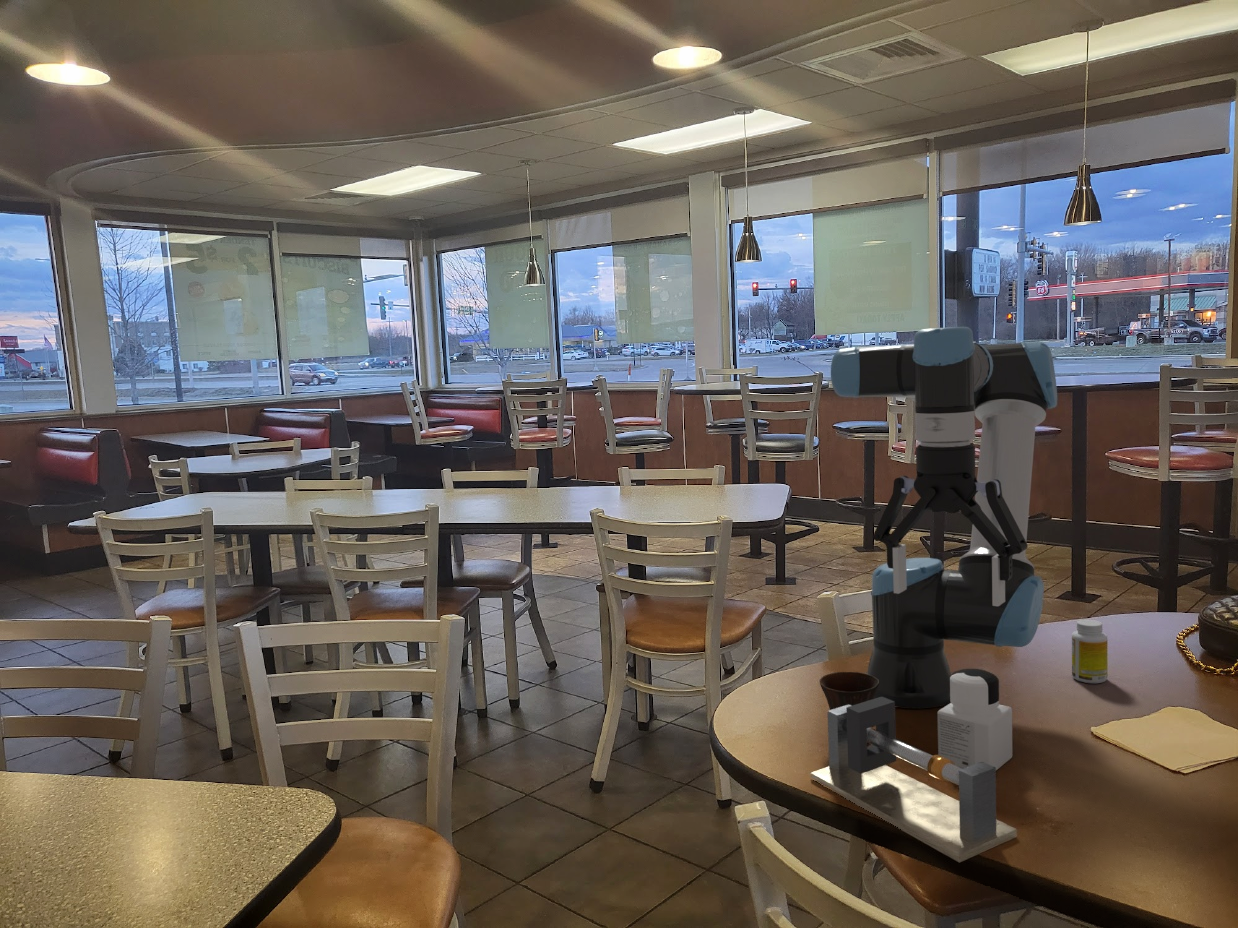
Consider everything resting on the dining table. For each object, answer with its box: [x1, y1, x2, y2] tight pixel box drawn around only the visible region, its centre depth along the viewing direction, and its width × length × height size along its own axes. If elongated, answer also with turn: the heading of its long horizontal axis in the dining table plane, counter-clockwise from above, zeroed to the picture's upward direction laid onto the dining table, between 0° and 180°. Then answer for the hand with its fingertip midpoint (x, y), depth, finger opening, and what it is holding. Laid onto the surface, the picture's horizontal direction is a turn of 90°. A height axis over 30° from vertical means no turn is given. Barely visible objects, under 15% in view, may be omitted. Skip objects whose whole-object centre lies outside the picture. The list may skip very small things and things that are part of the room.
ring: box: [846, 697, 897, 774], centre depth 125 cm, size 2×6×8 cm, turn 119°
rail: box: [810, 704, 1018, 863], centre depth 120 cm, size 26×10×10 cm, turn 29°
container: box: [937, 668, 1013, 771], centre depth 132 cm, size 8×8×13 cm
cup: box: [819, 671, 879, 710], centre depth 141 cm, size 9×9×10 cm
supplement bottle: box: [1071, 619, 1109, 685], centre depth 160 cm, size 6×6×10 cm
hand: (947, 597), depth 125 cm, fingers open, 13 cm apart
